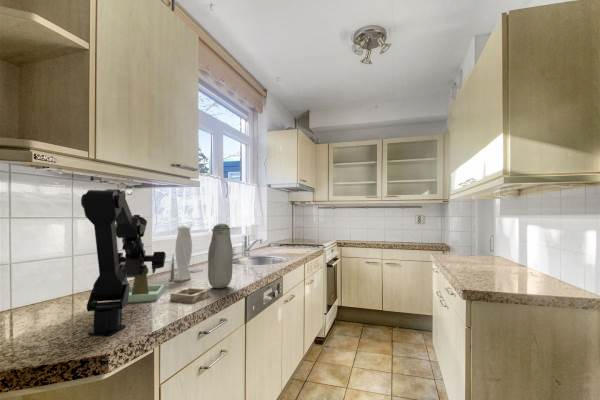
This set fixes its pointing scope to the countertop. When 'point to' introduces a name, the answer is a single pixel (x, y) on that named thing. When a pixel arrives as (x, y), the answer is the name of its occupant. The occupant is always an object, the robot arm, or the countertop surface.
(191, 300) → the wooden collar
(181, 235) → the skyscraper
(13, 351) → the countertop surface
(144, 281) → the cork
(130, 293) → the sage green tray
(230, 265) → the grey bottle
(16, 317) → the countertop surface
